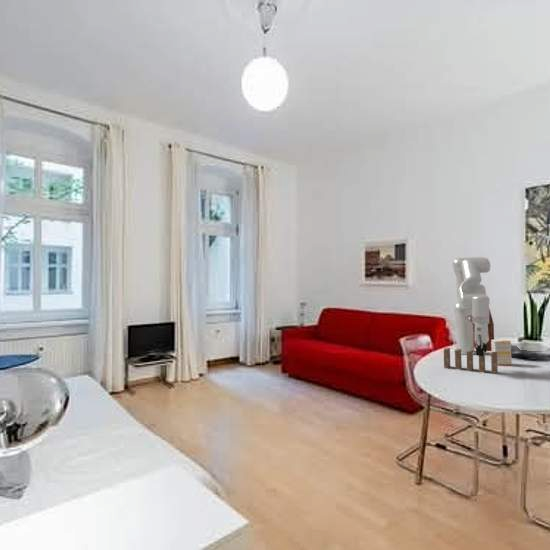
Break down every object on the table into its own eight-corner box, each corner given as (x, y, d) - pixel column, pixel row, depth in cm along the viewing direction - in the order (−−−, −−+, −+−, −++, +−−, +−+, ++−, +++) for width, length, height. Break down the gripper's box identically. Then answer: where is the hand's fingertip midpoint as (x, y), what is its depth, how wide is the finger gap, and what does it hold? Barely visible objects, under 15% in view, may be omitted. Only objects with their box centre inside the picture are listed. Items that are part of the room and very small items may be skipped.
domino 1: (444, 368, 203) (443, 349, 203) (446, 366, 207) (445, 347, 207) (448, 368, 202) (447, 349, 202) (450, 366, 206) (449, 347, 206)
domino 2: (455, 369, 200) (454, 350, 200) (457, 367, 204) (457, 348, 204) (459, 369, 199) (459, 350, 199) (461, 367, 203) (461, 348, 203)
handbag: (487, 345, 261) (485, 293, 262) (494, 350, 243) (492, 295, 243) (470, 345, 264) (468, 294, 265) (476, 350, 246) (474, 295, 246)
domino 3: (467, 370, 197) (466, 351, 197) (469, 368, 201) (468, 349, 201) (471, 371, 196) (470, 351, 196) (473, 369, 200) (472, 349, 200)
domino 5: (491, 373, 190) (491, 353, 190) (493, 371, 194) (492, 351, 194) (496, 374, 189) (495, 353, 189) (497, 371, 193) (497, 351, 193)
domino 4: (479, 372, 193) (478, 352, 193) (480, 370, 198) (480, 350, 197) (483, 372, 192) (483, 352, 192) (485, 370, 196) (484, 350, 196)
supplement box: (507, 363, 210) (506, 339, 210) (511, 365, 205) (511, 340, 205) (491, 363, 211) (490, 339, 211) (495, 365, 206) (494, 340, 206)
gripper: (486, 323, 186) (487, 358, 186) (491, 318, 200) (492, 351, 200) (469, 322, 190) (470, 356, 191) (475, 317, 204) (476, 349, 205)
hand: (481, 353), depth 196 cm, fingers open, 9 cm apart
